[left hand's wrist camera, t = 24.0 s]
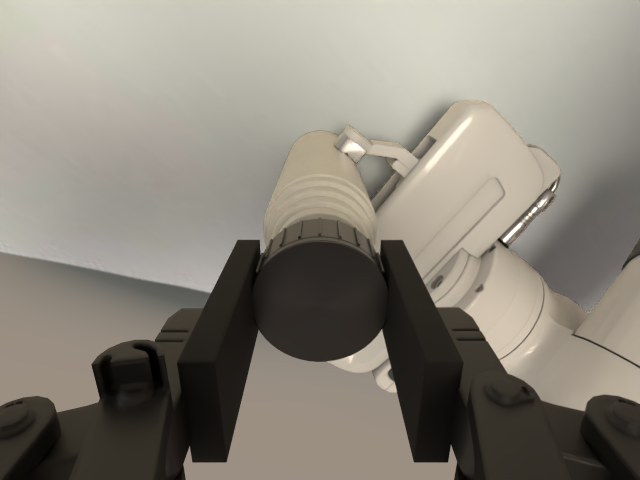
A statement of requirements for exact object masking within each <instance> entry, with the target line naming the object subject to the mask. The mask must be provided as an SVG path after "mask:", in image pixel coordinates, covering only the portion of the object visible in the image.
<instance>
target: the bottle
mask: <svg viewBox="0 0 640 480" xmlns="http://www.w3.org/2000/svg"><path fill="white" fill-rule="evenodd" d="M338 137H339V136H337V135H335V134H333V133H331V132H327V131H313V132H310V133H307V134H305V135H303V136H302V137H300V138H299V139H298V140H297V141H296V142H295V143H294V144H293V146H292V148H291V150H290V152H289V154H288V157H287V159H286V162H285V164H284V167H283V169H282V172H281V174H280V177H279V179H278V182H277V184H276V187H275V189H274V192H273V194H272V197H271V199H270V202H269V204H268V207H267V209H266V213H265V216H264V223H263V231H264V241H265V245H266V247H267V246H268V244H269V241H270V239H273V238H274V237H275V236H276V235H277V234H279V233H280V232H281V231H282V230H283V228H287V227H289V226H291V225H293V224H296V223H298V222H300V220H302V221H305V220H311V219H319V218H321V219H330V220H335V221H337V220H340V222H342V223H345V224H348V225H349V226H351V227H353V228H354V227H356V228H357V230H358V231H359V232H361V233H362V234H363V235H364V236H365V237H366V238H367V239H368V238H369V239H370V241H371V244H372V245H373V247H375V243H376V236H377V220H376V215H375V211H374V208H373V206H372V203H371V201H370V198H369V196H368V193H367V191H366V188H365V186H364V183H363V181H362V178H361V176H360V173H359V171H358V168H357V166H356V163H355V162H354V161H353V160H351V159H350V157H348V154H347V153H343V152H342V151H340V150H339V149H338V148H337V147H335V145H334V142H335V141H336V140H337V138H338Z"/></svg>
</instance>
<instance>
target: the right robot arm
mask: <svg viewBox="0 0 640 480" xmlns="http://www.w3.org/2000/svg"><path fill="white" fill-rule="evenodd" d="M334 145H335V147H337V148H338V149H339V150H340V151H342V152H343V153H347V154H348V157H350V159H351V160H353V161H354V162H355V163H358V162H359V160H360V159H361V158H362V157H363V156H364V155H365V153H366V154H368V155H375V156H382V157H388V158H387V162H388V163H389V164H390V166H391V167H392V168H393V169H394V170H396V172H395V173H394V174H393V175H392V177H391V178H390V179H389V180H388V181H387V183H386V184H385V185H384V186H383V187H382V188H381V190H380V191H379V192H378V193H377V194H376V196H375V197H374V198H373V199H372V200H371V203H372V206H373V208H374V211H375V215H376V220H377V236H376V243H375V247H374V248H375V250H376V252H379V255H380V245H381V240H403V242H404V244H405V246H406V248H407V250H408V252H409V254H410V256H411V258H412V260H413V262H414V264H415V266H416V268H417V270H418V272H419V274H420V276H421V278H422V280H423V282H424V284H425V286H426V288H427V290H428V292H429V294H430V296H431V298H432V300H433V302H434V304H435V306H436V307H459V308H461V309H462V310H463V311H465V312H466V313H467V314H469V315H470V316H471V317H473V319H474V321H475V322H476V324H477V325H478V327H479V329H480V331H481V332H482V333H483V335H484V336H485V338H486V341H488V343H489V344H490V346H491V348H492V349H493V351H494V352H495V354H496V356H497V357H498V359H499V360H500V362H501V364H502V365H503V367H504V368H505V370H506V372H507V373H508V374H511V375H513V376H515V377H517V378H519V379H521V380H523V381H525V382H526V383H527V384H529V385H530V386H531V387H532V388H534V390H535V391H536V393H537V394H538V396H539V397H540V399H541V400H542V401H545V402H548V403H551V404H555V405H559V406H564V407H568V408H572V409H577V410H581V411H585V408H586V404H587V402H588V401H589V400H590V399H591V398H592V397H593V396H599V395H604V394H605V395H614V396H620V397H623V398H626V399H629V400H632V401H635V402H637V403H639V404H640V239H639V241H638V242H637V244H636V246H635V247H634V249H633V251H632V252H631V254H630V255H629V257H628V259H627V260H626V262H625V263H624V265H623V267H622V271H621V273H620V274H619V275H618V277H617V278H616V279H615V281H614V282H613V283H612V285H611V286H610V287H609V288H608V290H607V291H606V292H605V294H604V295H603V296H602V298H601V299H600V300H599V302H598V303H597V304H596V306H595V307H594V308H593V309H592V311H591V312H590V313H589V314H588V313H587V312H586V311H585V310H583V309H582V308H581V307H580V306H579V305H577V304H576V303H575V302H574V301H572V300H571V299H569V298H567V297H566V296H563V295H561V294H558V293H555V292H553V291H551V290H550V289H549V287H548V285H547V284H546V282H545V280H544V279H543V278H542V276H541V275H540V274H539V273H538V272H537V271H536V270H534V269H533V268H532V267H531V266H530V265H528V264H527V263H526V262H525V261H523V260H522V259H521V258H520V257H519V256H517V255H516V254H515V253H514V252H512V251H511V250H510V249H509V247H508V246H509V245H510V244H511V243H512V242H513V241H514V240H515V239H516V238H517V237H518V236H519V235H520V234H521V233H522V232H523V231H524V230H525V229H526V228H527V226H529V224H530V223H531V222H532V221H533V219H534V218H535V217H536V216H537V215H539V214H540V213H541V212H543V211H545V210H546V209H547V208H548V207H549V206H550V205H551V204H552V202H553V201H554V200H555V198H556V195H555V194H554V192H555V191H556V189H557V187H558V185H559V182H560V174H561V170H560V168H559V166H558V164H557V163H556V161H554V160H553V159H552V158H551V157H550V156H549V155H548V154H547V153H546V152H545V151H544V150H542V149H541V148H540V147H538V146H535V145H530V144H526V143H525V142H524V140H523V139H522V138H521V137H520V135H519V134H518V133H517V132H516V130H515V129H514V128H513V127H512V126H511V125H510V123H509V122H508V121H507V120H506V119H505V118H504V117H503V116H502V115H501V114H500V113H499V112H498V111H497V110H496V109H495V108H494V107H493V106H491V105H490V104H488V103H486V102H483V101H478V100H467V101H458V102H456V103H454V104H453V105H452V106H451V107H450V108H449V109H448V110H447V112H446V113H445V114H444V115H443V116H442V118H441V119H440V120H439V121H438V122H437V123H436V125H435V126H434V127H433V128H432V129H431V131H430V132H429V133H428V134H427V135H426V136H425V138H424V139H423V140H422V141H421V142H420V144H419V145H418V146H417V147H416V148H415V149H414V151H413V152H412V153H410V152H409V151H408V150H407V149H405V148H404V147H403V146H402V145H400V144H399V143H393V142H385V141H378V140H369V141H368V140H367V139H366V138H365V137H363V136H362V135H361V134H360V133H358V132H357V131H356V130H355V129H353V128H352V127H351V126H349V125H347V126H346V128H345V129H344V130H343V131H342V133H341V134H340V136H339V137H338V138H337V140H336V141H335V142H334ZM550 185H551V186H550ZM549 186H550V188H549V189H547V188H548V187H549ZM326 362H328V363H330V364H332V365H334V366H336V367H338V368H340V369H343V370H345V371H349V372H353V373H366V372H369V371H372V373H373V376H374V379H375V381H376V383H377V385H378V386H379V387H381V388H382V389H384V390H385V391H387V392H390V393H396V392H397V390H396V386H395V381H394V377H393V373H392V369H391V365H390V361H389V357H388V352H387V348H386V344H385V340H384V336H383V332H382V330H381V331H380V333H379V334H378V335H377V337H376V338H375V339H374V340H373V341H372V342H371V343H370V344H369V345H367V346H366V347H365V348H363V349H362V350H360V351H359V352H357V353H355V354H353V355H351V356H348V357H345V358H343V359H339V360H334V361H326Z"/></svg>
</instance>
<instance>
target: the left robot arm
mask: <svg viewBox="0 0 640 480" xmlns="http://www.w3.org/2000/svg"><path fill="white" fill-rule="evenodd" d="M260 256H261V255H260V240H238V241H237V243H236V245H235V247H234V249H233V251H232V253H231V255H230V257H229V259H228V261H227V263H226V265H225V267H224V269H223V271H222V273H221V275H220V277H219V279H218V281H217V283H216V285H215V287H214V289H213V291H212V293H211V295H210V297H209V299H208V301H207V303H206V305H205V307H204V309H181V310H179V311H178V312H177V313H175V314H174V315H172V316H171V317H170V318H168V320H167V321H166V323H165V325H164V326H163V328H162V329H161V333H159V334H158V336H157V337H156V339H155V342H154V341H150V340H133V341H128V342H123V343H120V344H118V345H116V346H113V347H111V348H109V349H107V350H106V351H104V352H103V353H101V354H100V355H99V356H98V357H97V358H96V359H95V361H94V362H93V363H92V369H93V372H94V376H95V380H96V384H97V388H98V392H99V396H100V400H99V402H98V403H95V404H92V405H88V406H84V407H80V408H76V409H71V410H67V411H62V412H58V413H57V412H56V409H55V406H54V403H53V402H51V401H50V400H49V399H48V398H44V397H39V396H34V397H25V398H20V399H17V400H14V401H11V402H8V403H6V404H4V405H2V406H0V480H185V473H184V467H183V463H184V460H185V457H186V454H187V452H188V449H189V446H190V449H191V456H192V462H227V458H228V454H229V450H230V446H231V441H232V437H233V433H234V429H235V425H236V421H237V416H238V412H239V408H240V404H241V400H242V396H243V392H244V387H245V383H246V379H247V375H248V371H249V367H250V363H251V358H252V354H253V350H254V346H255V342H256V338H257V334H258V327H257V325H256V323H255V321H254V315H253V300H252V286H253V283H254V280H255V277H256V274H255V271H256V268H257V265H258V262H259V259H260ZM380 258H381V261H382V264H383V267H384V270H385V273H384V275H385V279H386V282H387V285H388V289H389V292H388V307H387V319H386V322H385V324H384V326H383V328H382V332H383V336H384V340H385V344H386V348H387V352H388V357H389V361H390V365H391V369H392V373H393V377H394V381H395V386H396V390H397V394H398V398H399V402H400V406H401V410H402V415H403V419H404V423H405V427H406V431H407V435H408V439H409V444H410V448H411V452H412V456H413V460H414V462H448V459H449V452H450V446H451V445H452V448H453V451H454V454H455V457H456V459H457V467H456V472H455V478H454V480H640V404H639V403H637V402H635V401H632V400H629V399H626V398H623V397H620V396H614V395H605V394H604V395H599V396H593V397H592V398H591V399H590V400H589V401H588V402H587V404H586V408H585V411H581V410H577V409H572V408H568V407H564V406H559V405H555V404H551V403H548V402H545V401H542V400H541V399H540V397H539V396H538V394H537V393H536V391H535V390H534V388H532V387H531V386H530V385H529V384H527V383H526V382H525V381H523V380H521V379H519V378H517V377H515V376H513V375H511V374H508V373H507V372H506V370H505V368H504V367H503V365H502V364H501V362H500V360H499V359H498V357H497V356H496V354H495V352H494V351H493V349H492V348H491V346H490V344H489V343H488V341H486V338H485V336H484V335H483V333H482V332H481V331H480V329H479V327H478V325H477V324H476V322H475V321H474V319H473V317H471V316H470V315H469V314H467V313H466V312H465V311H463V310H462V309H461V308H459V307H436V306H435V304H434V302H433V300H432V298H431V296H430V294H429V292H428V290H427V288H426V286H425V284H424V282H423V280H422V278H421V276H420V274H419V272H418V270H417V268H416V266H415V264H414V262H413V260H412V258H411V256H410V254H409V252H408V250H407V248H406V246H405V244H404V242H403V240H381V245H380Z"/></svg>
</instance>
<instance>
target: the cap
mask: <svg viewBox="0 0 640 480" xmlns="http://www.w3.org/2000/svg"><path fill="white" fill-rule="evenodd" d="M384 273H385V270H384V267H383V264H382V261H381V258H380V255H379V252H376V250H375V248H374V247H373V245H372V244H371V241H370V239H369V238H368V239H367V238H366V237H365V236H364V235H363V234H362V233H361V232H359V231H358V230H357V228H356V227H354V228H353V227H351V226H349V225H348V224H345V223H342V222H340V220H337V221H335V220H330V219H321V218H319V219H311V220H305V221H302V220H300V222H298V223H296V224H293V225H291V226H289V227H287V228H283V230H282V231H281V232H280V233H279V234H277V235H276V236H275V237H274V238H273V239H270V241H269V244H268V246H267V247H266V249H265V251H264V253H261V256H260V259H259V262H258V265H257V268H256V271H255V274H256V277H255V280H254V283H253V286H252V300H253V315H254V321H255V323H256V325H257V327H258V329H259V330H260V332H261V333H262V335H263V336H264V337H265V338H266V339H267V340H268V341H269V342H270V343H271V344H272V345H273V346H274V347H276V348H277V349H278V350H280V351H282V352H283V353H285V354H288V355H290V356H292V357H295V358H298V359H302V360H307V361H315V362H326V361H334V360H339V359H343V358H345V357H348V356H351V355H353V354H355V353H357V352H359V351H360V350H362V349H363V348H365V347H366V346H367V345H369V344H370V343H371V342H372V341H373V340H374V339H375V338H376V337H377V335H378V334H379V333H380V331H381V330H382V328H383V326H384V324H385V322H386V319H387V307H388V292H389V289H388V285H387V282H386V279H385V275H384Z"/></svg>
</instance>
